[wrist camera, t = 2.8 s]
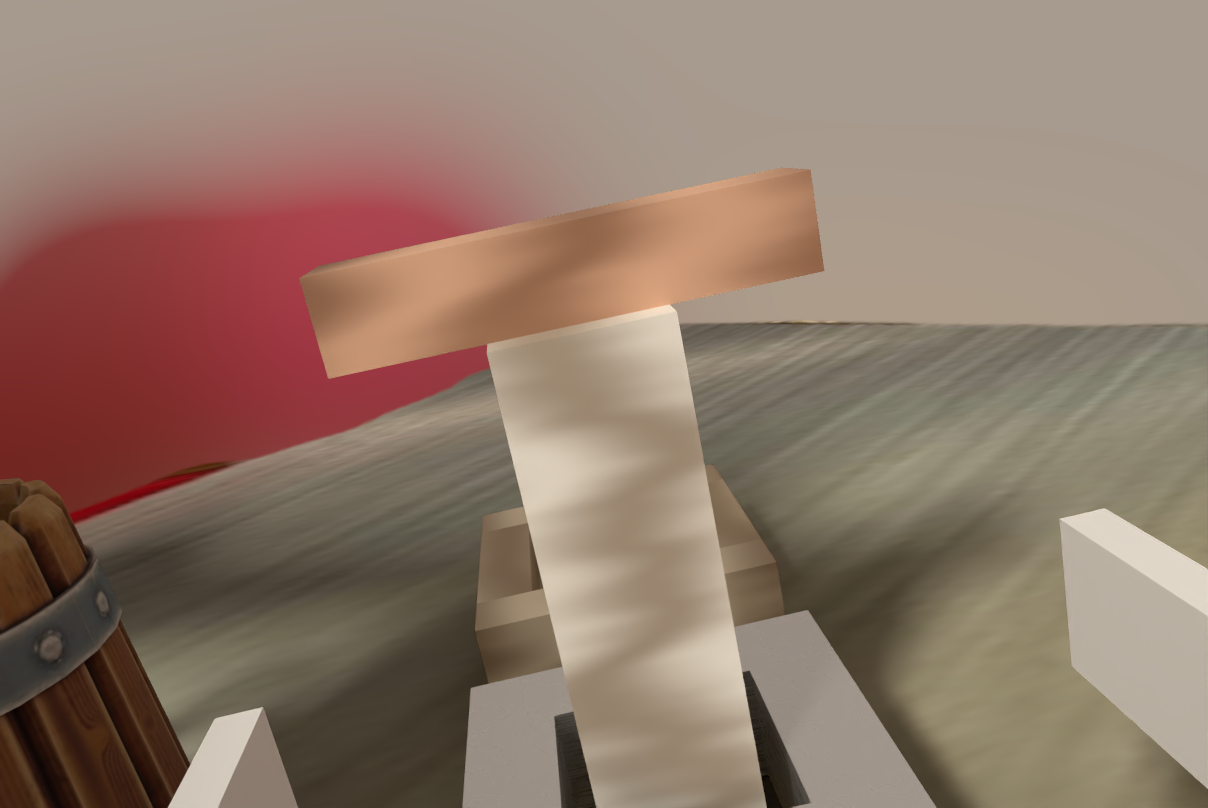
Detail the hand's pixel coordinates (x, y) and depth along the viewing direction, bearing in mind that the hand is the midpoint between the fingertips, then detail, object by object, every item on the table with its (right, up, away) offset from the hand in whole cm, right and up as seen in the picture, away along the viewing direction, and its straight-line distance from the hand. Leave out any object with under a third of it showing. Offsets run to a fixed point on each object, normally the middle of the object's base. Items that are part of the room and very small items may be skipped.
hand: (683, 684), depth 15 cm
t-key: (+1, -9, +13) cm, 16 cm away
